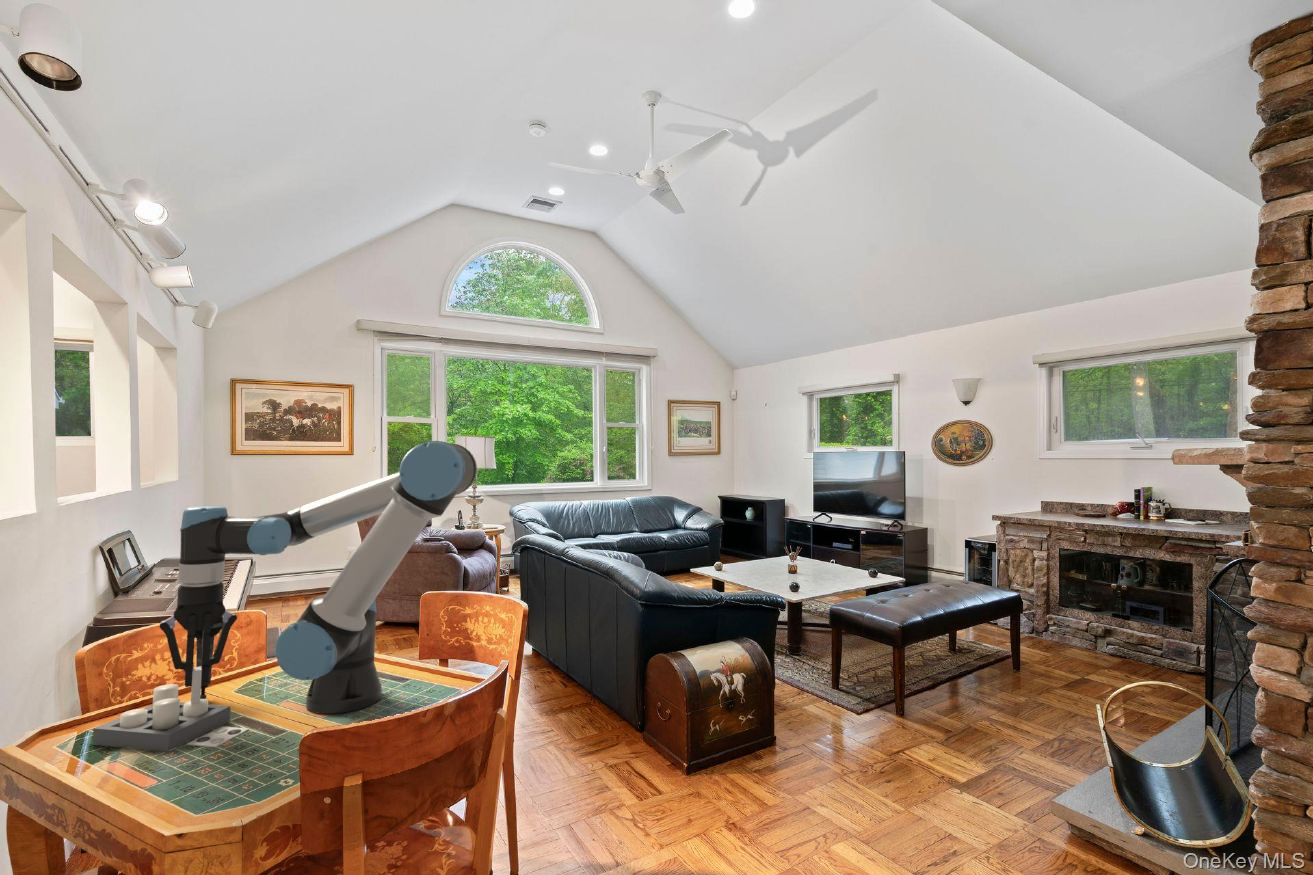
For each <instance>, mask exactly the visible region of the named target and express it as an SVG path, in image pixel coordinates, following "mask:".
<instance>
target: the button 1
mask: <svg viewBox="0 0 1313 875" xmlns="http://www.w3.org/2000/svg"><path fill="white" fill-rule="evenodd" d="M119 716H120V717H119V718H120V727H123V728H134V727H137V726H139V725H141V724H144V723H146V722H147V709H143V708H135V709H131V710H127V711H125V712H122V713H121V714H120V715H119Z"/></svg>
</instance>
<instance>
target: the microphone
mask: <svg viewBox="0 0 1313 875" xmlns="http://www.w3.org/2000/svg"><path fill="white" fill-rule="evenodd" d="M223 624H224V622H223V616H221V618H220V619H219V620H218V621H217V622H216V624H215V625H214V626H213V627H211V634H210V654H209V658H211V657H213V655H214V647H215V646H214V645H215V644H214V643H215V637H216V636H218V634H220V633H221V630H222V627H223ZM195 639H196V656H195V657H196V662H195V663H196V665H195V667H200V666H201V662H202V640H203V630H196V631H195ZM212 669H213V665H212V666H210V667H209V673H208V682H207V684H203V685H201V695H200V699H207V694H206V688H208V687H209V685H211V682H212Z"/></svg>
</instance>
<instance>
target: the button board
mask: <svg viewBox="0 0 1313 875" xmlns="http://www.w3.org/2000/svg"><path fill="white" fill-rule="evenodd" d="M184 703H185V702H183V701H182V702H181V701H180V708H179V724H178V725H177V726H175V727H173V728H170V729H166V730H153V729H152V721H153V713H152V709H153V704H151V705H149V706H146V707H144V708H142V709H147V722H146V723H144V724H141V725H139V726H137V727H134V728H123V727H120V717H119V718H117V719H114V720H112V721H109V722H106V723H104V724H101V725H99V726H96V727H93V730H92V731H93V736H92V745H93V746H102V747H103V746H104V747H114V748H125V749H137V750H147V751H156V752H170V751H172V750H174V749H176V748H178V747H180V746H182V745H184V744H186V743H189V742H191V741H193V740H195V739H197V738H199V737H202V736H204V735H206V734H208V733H210V732H212V731H214V730H216V729H218V728H220V727H222V726H224V724H227V723H229V722H230V721H231V708H232V707H231V705H220V704H209V703H208V712H206V713H204V714H202V715H199V716H197V717H188V716H183V707H184Z"/></svg>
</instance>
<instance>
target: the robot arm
mask: <svg viewBox="0 0 1313 875" xmlns="http://www.w3.org/2000/svg"><path fill="white" fill-rule="evenodd" d="M477 469H478V466H477V461H476V459H475V457H474V455H473V454H472V452H471V451H470V450H468V449H467V447H464V446H463V445H461V444H458V443H451V442H450V443H449V442H446V441H439V440H431V441H426V442H423V443H420V444H417V445H415V446H414V447H413V448H411V449H410V450H409V451H407V453H406V454H405V455H404V457H403V458H402V460H401V463H400V466H399V471H397V472H395V473H393V474H389V475H387V476H383V477H381V478H377V479H375V480H372V481H369V482H367V483H363V484H362V485H358V486H355V487H352V488H351V489H350V488H349V489H347V490H344V491H342V492H339V493H336V494H333V495H331V496H328V497H325V498H322V499H320V500H316V501H314V502H310V503H309V504H306V505H303V506H299V507H296V508H294V509H293V508H292V509H291V510H289V511H285V512H282V513H275V514H269V515H261V516H238V517H237V516H229V514H228V509H227V508H226V507H225V506H215V505H214V506H213V505H212V506H211V505H209V506H207V505H206V506H203V505H202V506H190V507H187V508H185V509H184V510H183V513H182V518H181V525H180V526H181V528H179V532H180V552H179V553H180V557H179V564H178V579H177V582H178V583H179V584H181V585H179V586H178V587H177V598H176V599H177V600H176V601H177V602H176V609H175V610H174V612H173V615H172V616H170V617H169V618H167V619H164V620H161V621H159V622H160V623H159V628H160V630H161V632H163V633H164V634H165V636H166V640H167V644H168V648H169V652H170V656H171V659H172V660H171V661H172V664H173V667H174V669H175V670H183V671H184V687H185V688H189V687H191V689H190V690H191V692H190V693H191V694H190V701H191V704H197V703H200V695H201V685H203V684H207V682H208V673H209V667H210V666H212V667H213V666H214V665H217V664H220V662H221V659H222V656H223V653H224V649H225V646H226V643H227V642H228V641H227V640H228V637H229V634H230V631H231V628H232V626H233V625H234V624H235V622H236V621H237V620H238V616H237V613H235V612H230V611H229V610H226V607H225V605H224V589H225V588H224V583H223V582H222V581H223V580H224V579H225V564H226V555H230V554H231V555H259V556H266V555H278V554H281V553H283V552H284V551H285V549H287V548H288V547H291V546H292V547H294V546H297V545H300V544H303V543H305V542H307V541H309V540H311V539H313V538H314V539H315V538H316V537H318V536H322V535H325V534H328V533H330V532H333V531H335V530H339V529H341V528H344V527H347V526H350V525H352V524H355V523H358V522H361V521H363V520H366V519H369V518H373V517H375V516H378V515H380V516H379V517H378V518H377V520H376V522H375V523H374V524H373V526H372V527H371V529H370V530H368V533H367V534H366V536H365V537H364V539H363V540H362V541H361V543H360V545H359V546H358V547H357V549H356V550H355V551H354V552H353V555H352V556H351V557H350V558H349V560H348V561H347V563H346V565H345V566H344V567H343V569H342V570H341V572H340V573H339V574H338V576H337V578H336V579H335V580H334V582H333V583H332V584H331V586H330V588H329V589H328V590H327V592H326V593H325V594H322V595H318V596H317V595H316V596H315V597H314V598H313V599H312V600H311V601H310V603H309V604H308V605H307V607H306V608H305V610H304V611H303V613H302V614H301V615H300V617H299V618H298V620H297V621H296V622H293V623H291V624H290V625H289V626H287V627H286V628H285V629H284V630H283V631H281V633H280V634H279V636H278V638H277V639H276V642H275V646H274V647H275V648H274V653H275V657H276V660H277V663H278V664H277V665H278V666H279V668H280V669H281V670H282V671H283V672H284V673H285V674H286V675H287V676H290V677H291V678H293V679H295V680H299V681H311V682H310V685H309V689H308V691H307V694H306V699H305V700H306V701H305V707H306V709H307V710H308V711H310V712H311V713H312V712H313V713H317V714H329V715H330V714H332V715H333V714H341V713H342V714H343V713H348V712H353V711H358V710H361V709H365V708H369V707H370V706H372V705H374V704H376V703H377V702H378V700H379V699H380V700H381V698H382V690H383V687H382V683H381V680H380V677H379V674H378V671H377V667H376V665H375V650H376V649H375V648H376V630H377V629H376V625H377V613H378V611H377V604H376V602H377V601H376V598H377V597H378V595H379V594H380V593H381V590H383V588H384V586H385V585H386V583H387V582H388V581H389V579H390V578H391V576H392V575H393V573H394V572H395V570H396V569H397V568H398V567H399V565H400V563H401V562H402V561H403V559H404V558H405V556H406V555H407V553H408V552H409V550H410V549H411V547H412V546H413V545H414V543H415V542H416V540H418V537H419V536H420V534H421V533H422V532H423V530H424V529H425V527H426V525H427V524H428V522H429V521H430V520H431V519H435V518H438V517H442V515H443V514H444V513H445V511H446V509H447V508H448V507H449V505H450V504H451V502H452V501H453V500H454V498H455V497H456V495H460V494H462V493H464V492H465V491H467V490H468V489H470V487H472V485H473V483H474V482H475V479H476V477H477V472H478V470H477ZM221 616H223V622H224V624H223V627H222V629H221V631H220V632H219V637H218V640H217V642H216V646H215V649H214V651H213V657H211V658H209V654H210V634H211V627H213V626H214V625H215V624H216V622H217V621H218V620H219V619H220V618H221ZM176 622H177V623H178V624H179V625H180V626H181V627H182V628H183V630H185V631H187V633H186V649H185V650H186V652H185V661H182V657H181V654H180V649H179V645H178V641H177V637H176V633H175V630H174V629H175V628H176ZM196 630H203V640H202V662H201V666H200V667H196V666H194V657H195V656H194V654H195V640H196V638H195V631H196ZM380 697H381V698H380ZM380 700H379V701H380ZM376 701H377V702H376ZM375 702H376V703H375Z"/></svg>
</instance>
